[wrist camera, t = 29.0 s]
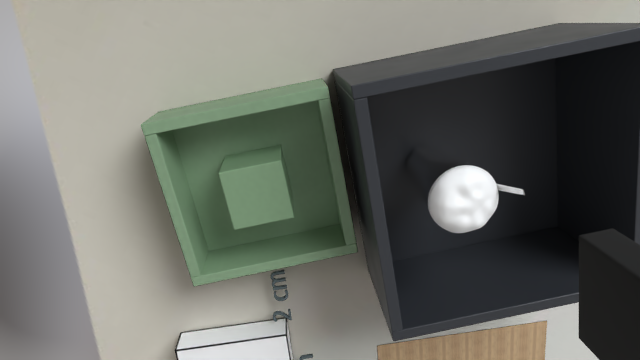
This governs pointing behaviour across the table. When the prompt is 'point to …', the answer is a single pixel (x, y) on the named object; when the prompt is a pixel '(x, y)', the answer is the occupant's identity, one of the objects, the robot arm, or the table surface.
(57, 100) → the table surface
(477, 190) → the milkshake
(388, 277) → the dark bin
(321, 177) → the green bin
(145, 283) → the table surface
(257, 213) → the green block
